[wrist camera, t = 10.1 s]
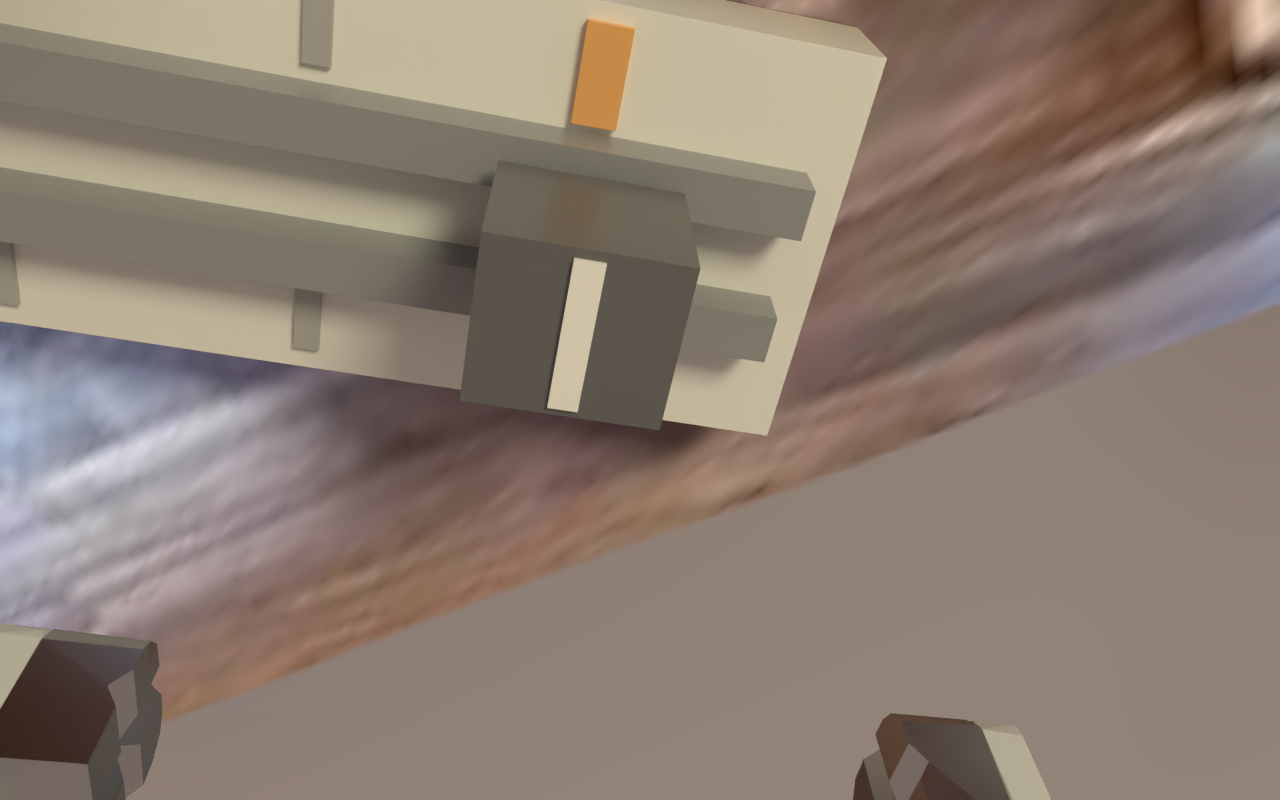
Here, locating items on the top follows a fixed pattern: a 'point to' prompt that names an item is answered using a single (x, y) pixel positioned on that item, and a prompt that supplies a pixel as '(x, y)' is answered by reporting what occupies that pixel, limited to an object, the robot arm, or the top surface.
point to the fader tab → (579, 297)
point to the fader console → (410, 169)
